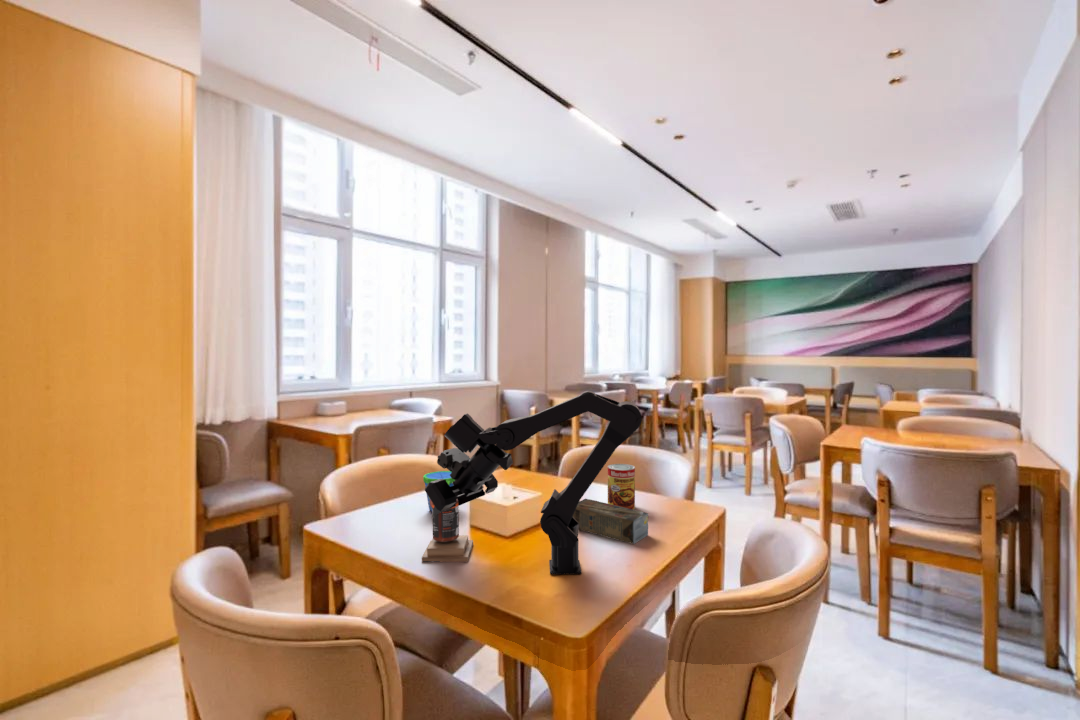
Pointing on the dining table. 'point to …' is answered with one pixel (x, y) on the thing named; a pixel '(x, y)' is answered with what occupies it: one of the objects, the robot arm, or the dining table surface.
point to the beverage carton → (611, 521)
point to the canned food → (621, 485)
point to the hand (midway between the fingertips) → (444, 509)
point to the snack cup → (435, 476)
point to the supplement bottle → (446, 524)
